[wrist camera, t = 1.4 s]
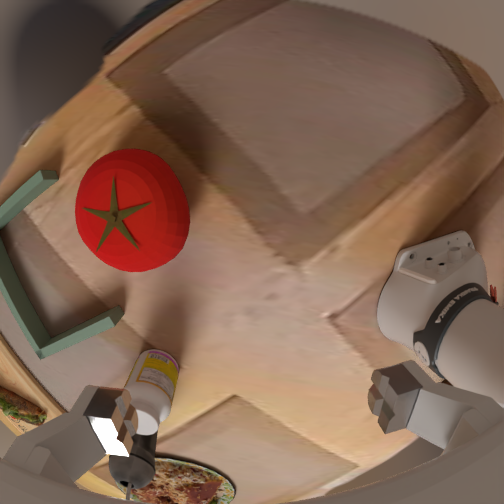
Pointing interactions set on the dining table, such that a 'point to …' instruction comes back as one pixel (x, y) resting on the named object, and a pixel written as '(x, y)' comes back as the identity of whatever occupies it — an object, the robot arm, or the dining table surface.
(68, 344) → the corral
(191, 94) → the dining table surface
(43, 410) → the cutting board
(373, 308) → the dining table surface
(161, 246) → the tomato
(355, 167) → the dining table surface
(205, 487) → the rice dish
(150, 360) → the supplement bottle
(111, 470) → the beverage cup
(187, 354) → the dining table surface
